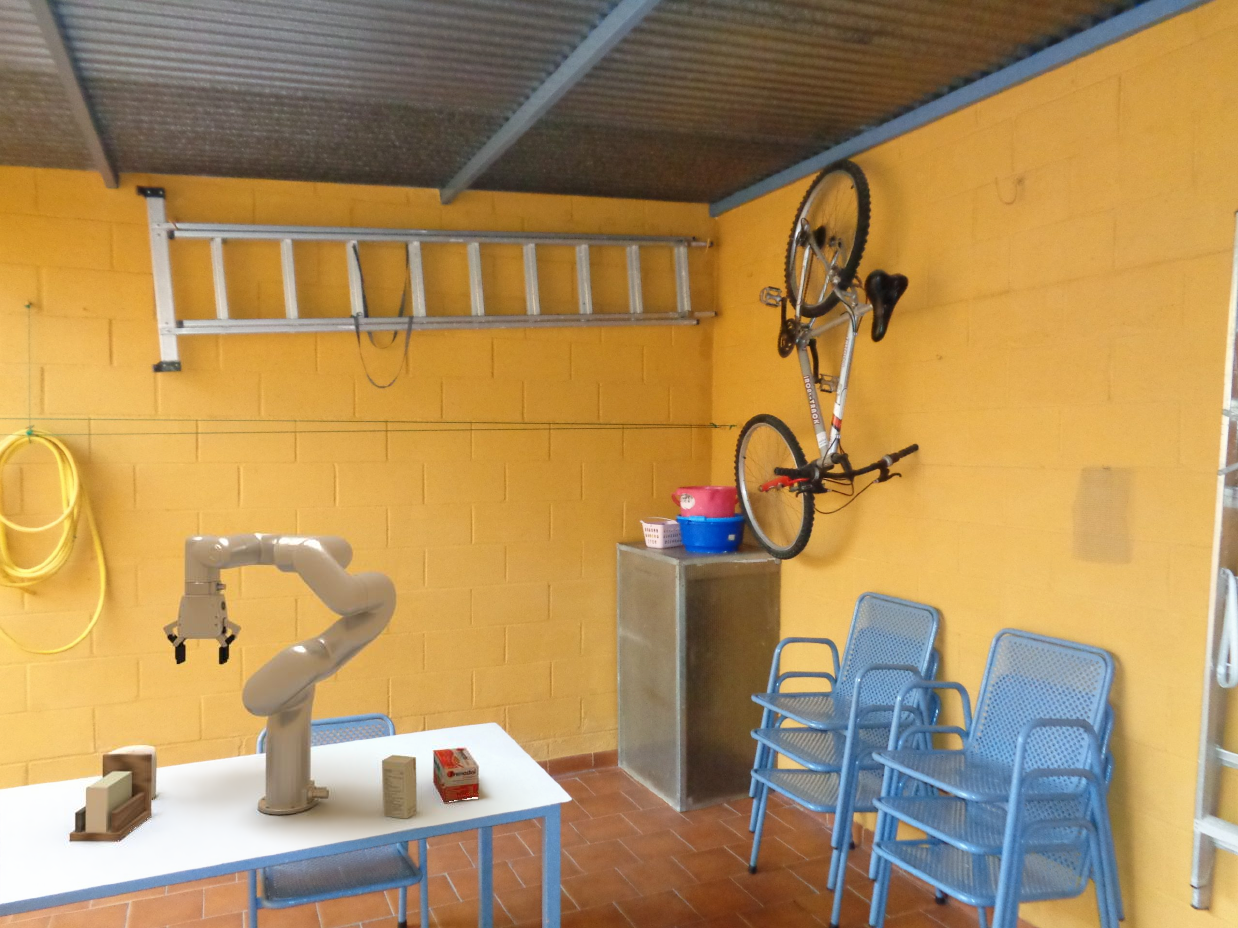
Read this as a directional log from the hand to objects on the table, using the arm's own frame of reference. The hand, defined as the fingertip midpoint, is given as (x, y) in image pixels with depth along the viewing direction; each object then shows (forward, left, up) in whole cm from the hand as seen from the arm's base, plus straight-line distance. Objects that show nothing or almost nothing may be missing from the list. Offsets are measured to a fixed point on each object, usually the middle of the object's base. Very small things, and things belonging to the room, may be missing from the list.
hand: (202, 663), depth 213 cm
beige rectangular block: (+10, +21, -29) cm, 37 cm away
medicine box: (-58, -3, -31) cm, 65 cm away
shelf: (+10, +20, -30) cm, 37 cm away
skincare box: (-48, +11, -31) cm, 58 cm away
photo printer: (+14, +4, -31) cm, 34 cm away
